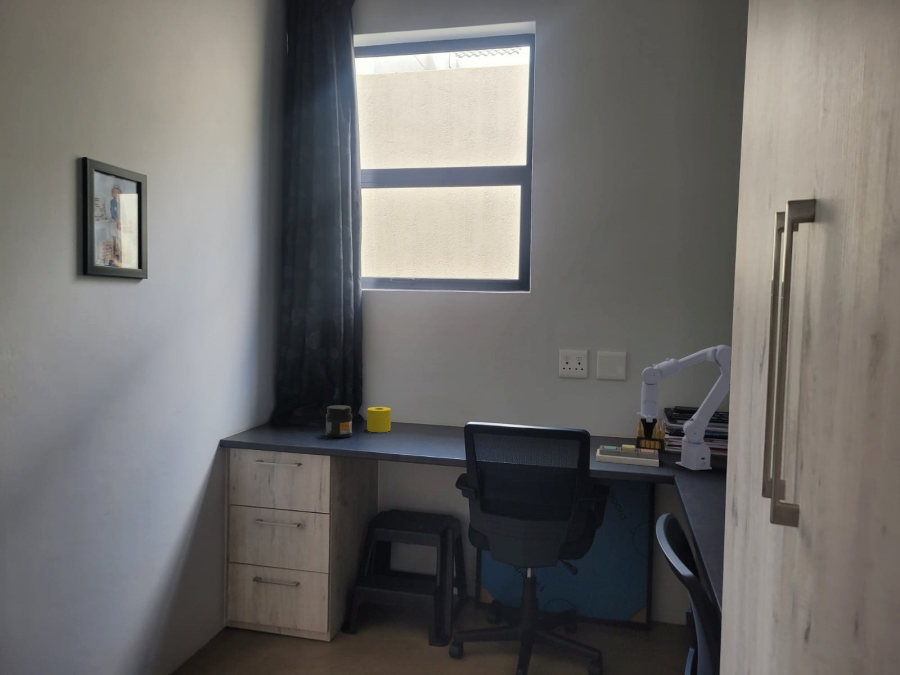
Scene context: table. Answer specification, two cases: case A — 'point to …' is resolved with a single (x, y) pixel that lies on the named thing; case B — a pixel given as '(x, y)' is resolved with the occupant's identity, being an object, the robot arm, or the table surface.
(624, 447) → the ochre key
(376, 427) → the tape roll
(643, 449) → the terracotta key
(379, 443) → the table surface
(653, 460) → the button pad
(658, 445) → the ammunition clip
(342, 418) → the supplement container
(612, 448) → the teal key
